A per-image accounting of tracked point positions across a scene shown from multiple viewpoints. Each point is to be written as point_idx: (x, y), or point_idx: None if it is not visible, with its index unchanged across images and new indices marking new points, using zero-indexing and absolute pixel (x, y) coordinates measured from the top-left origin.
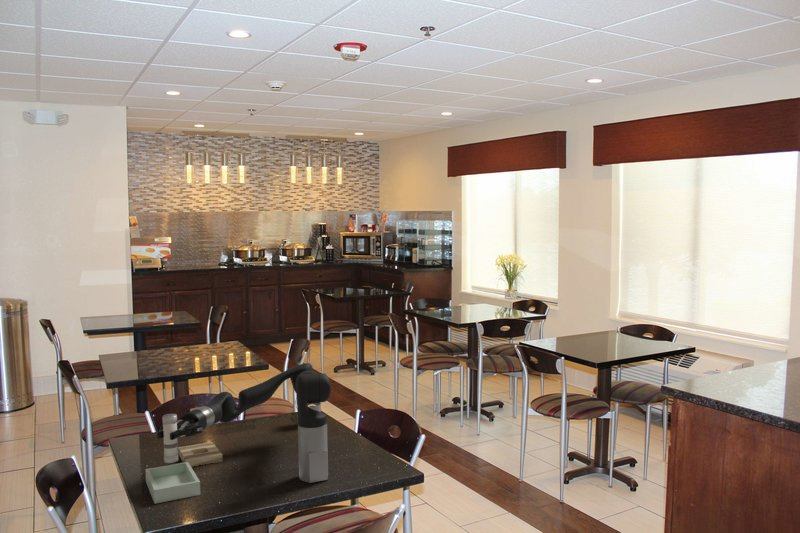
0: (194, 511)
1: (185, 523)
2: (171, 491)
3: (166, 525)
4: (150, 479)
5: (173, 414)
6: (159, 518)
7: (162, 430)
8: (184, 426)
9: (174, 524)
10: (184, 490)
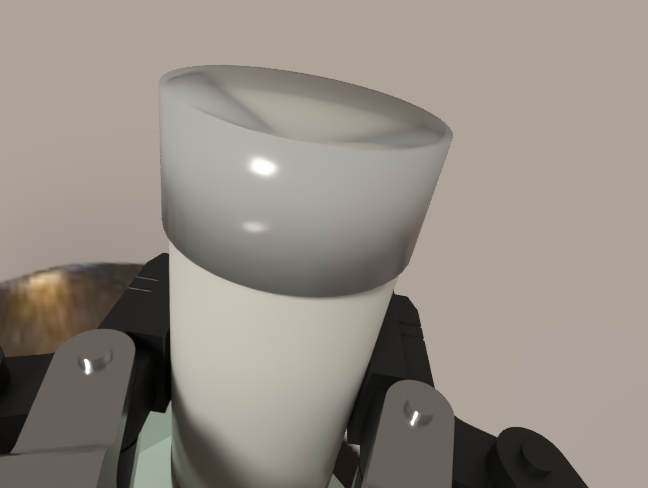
0: (23, 342)
1: (55, 274)
2: None
3: (120, 267)
4: (337, 486)
5: (282, 126)
6: None
7: None
8: (23, 456)
9: (94, 270)
10: None
